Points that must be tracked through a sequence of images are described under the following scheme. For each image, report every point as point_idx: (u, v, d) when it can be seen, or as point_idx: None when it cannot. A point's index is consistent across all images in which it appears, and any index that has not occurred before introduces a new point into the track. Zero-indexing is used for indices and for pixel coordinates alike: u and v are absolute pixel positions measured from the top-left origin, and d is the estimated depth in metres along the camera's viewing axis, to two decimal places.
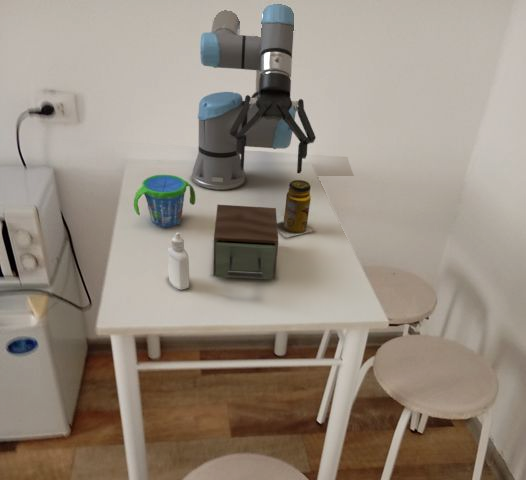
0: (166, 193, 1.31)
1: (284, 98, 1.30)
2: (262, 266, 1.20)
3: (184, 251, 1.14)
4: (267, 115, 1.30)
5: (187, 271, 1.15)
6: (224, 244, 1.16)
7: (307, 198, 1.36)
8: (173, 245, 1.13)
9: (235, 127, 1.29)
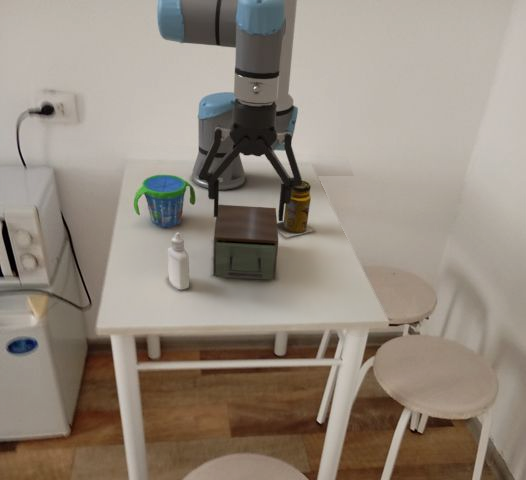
0: (166, 193, 1.31)
1: (267, 132, 0.98)
2: (262, 266, 1.20)
3: (184, 251, 1.14)
4: (244, 153, 1.01)
5: (187, 271, 1.15)
6: (224, 244, 1.16)
7: (307, 198, 1.36)
8: (173, 245, 1.13)
9: (205, 171, 1.02)
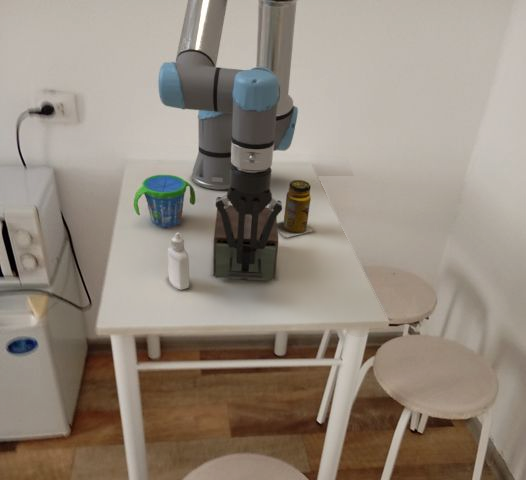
0: (166, 193, 1.31)
1: (262, 194, 1.04)
2: (262, 267, 1.19)
3: (184, 251, 1.14)
4: None
5: (187, 271, 1.15)
6: (224, 245, 1.16)
7: (307, 198, 1.36)
8: (173, 245, 1.13)
9: (230, 239, 1.09)
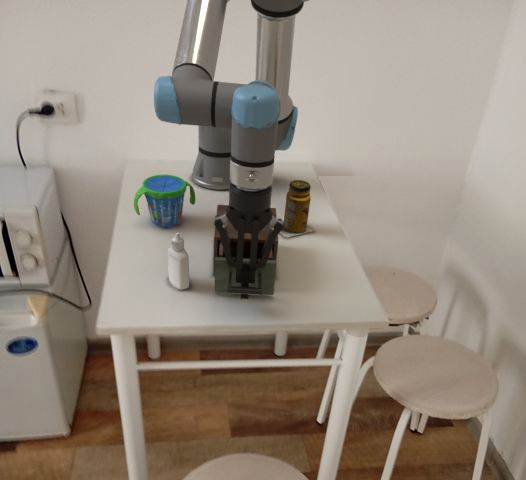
0: (166, 193, 1.31)
1: (262, 213, 1.00)
2: (262, 281, 1.15)
3: (184, 251, 1.14)
4: None
5: (187, 271, 1.15)
6: (223, 259, 1.12)
7: (307, 198, 1.36)
8: (173, 245, 1.13)
9: (229, 258, 1.05)
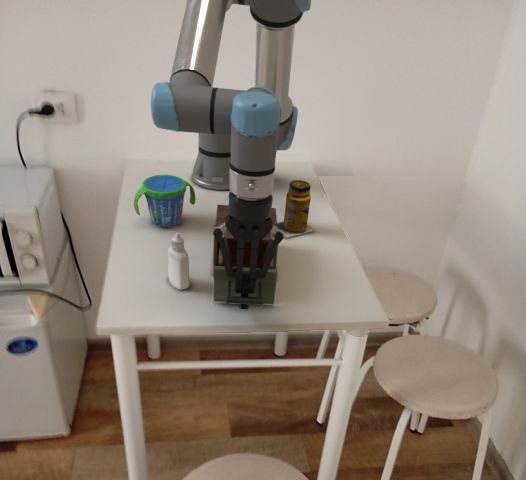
0: (166, 193, 1.31)
1: (263, 222, 0.97)
2: (263, 291, 1.12)
3: (184, 251, 1.14)
4: None
5: (187, 271, 1.15)
6: (222, 268, 1.09)
7: (307, 198, 1.36)
8: (173, 245, 1.13)
9: (229, 268, 1.03)
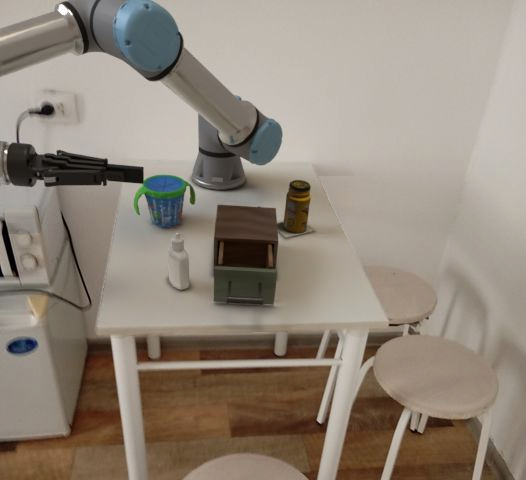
0: (166, 193, 1.31)
1: None
2: (263, 291, 1.12)
3: (184, 251, 1.14)
4: None
5: (187, 271, 1.15)
6: (222, 268, 1.09)
7: (307, 198, 1.36)
8: (173, 245, 1.13)
9: None
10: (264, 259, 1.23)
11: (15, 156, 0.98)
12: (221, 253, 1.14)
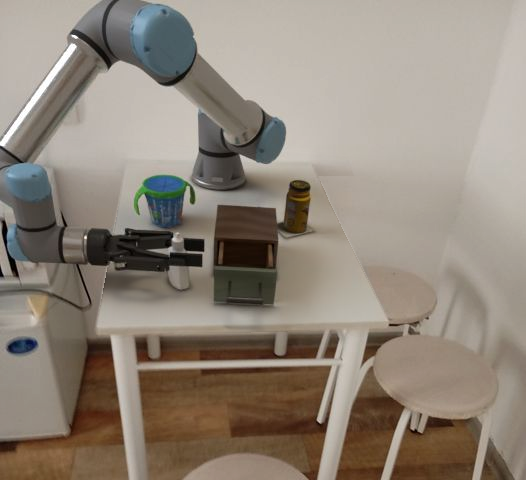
0: (166, 193, 1.31)
1: None
2: (263, 291, 1.12)
3: (184, 251, 1.14)
4: None
5: (187, 271, 1.15)
6: (222, 268, 1.09)
7: (307, 198, 1.36)
8: (173, 245, 1.13)
9: None
10: (264, 259, 1.23)
11: (94, 243, 1.10)
12: (221, 253, 1.14)
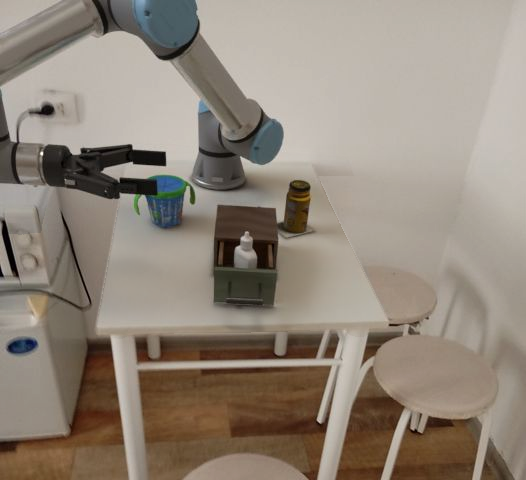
0: (166, 193, 1.31)
1: None
2: (263, 291, 1.12)
3: (252, 250, 1.12)
4: None
5: None
6: (222, 269, 1.09)
7: (307, 198, 1.36)
8: (242, 244, 1.11)
9: None
10: (264, 260, 1.23)
11: (50, 158, 1.00)
12: (221, 254, 1.14)
